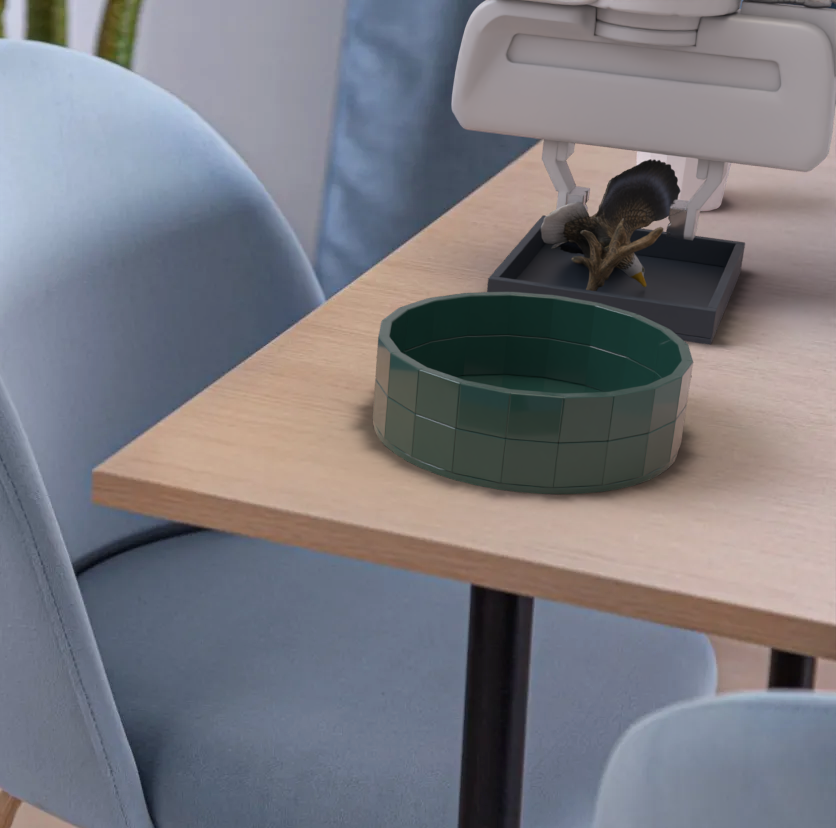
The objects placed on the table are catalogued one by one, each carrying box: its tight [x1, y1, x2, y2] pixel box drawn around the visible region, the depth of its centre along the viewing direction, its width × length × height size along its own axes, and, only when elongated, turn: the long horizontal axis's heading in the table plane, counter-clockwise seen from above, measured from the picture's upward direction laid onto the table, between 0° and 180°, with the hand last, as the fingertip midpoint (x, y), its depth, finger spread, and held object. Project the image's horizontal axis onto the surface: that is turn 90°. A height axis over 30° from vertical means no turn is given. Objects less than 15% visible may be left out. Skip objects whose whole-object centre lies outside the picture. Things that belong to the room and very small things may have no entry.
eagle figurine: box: [541, 159, 680, 291], centre depth 98 cm, size 8×7×9 cm
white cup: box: [635, 151, 732, 212], centre depth 116 cm, size 7×7×7 cm
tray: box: [486, 214, 746, 346], centre depth 98 cm, size 14×12×2 cm
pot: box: [372, 291, 694, 495], centre depth 78 cm, size 14×14×4 cm
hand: (624, 228), depth 97 cm, fingers closed on eagle figurine, 5 cm apart
